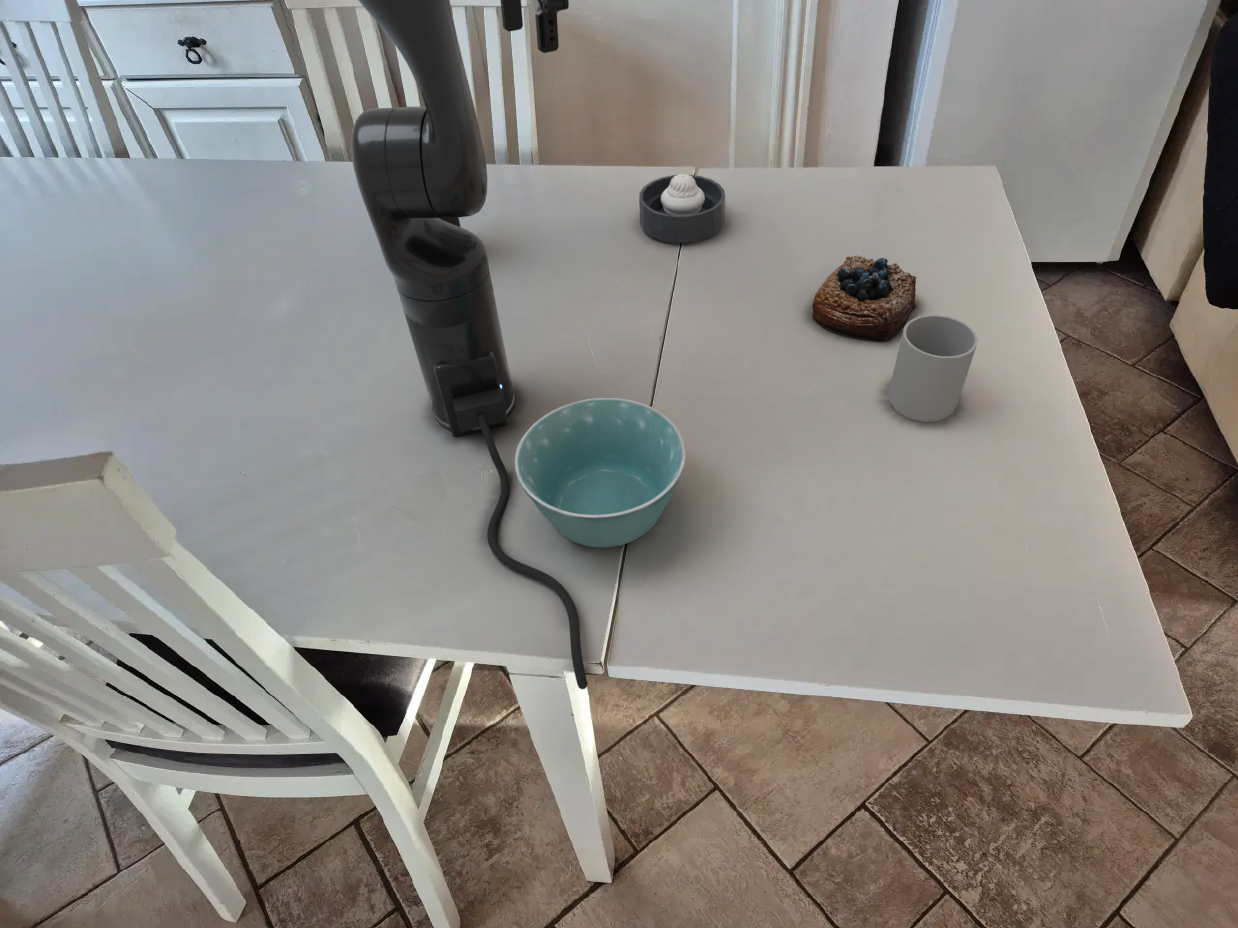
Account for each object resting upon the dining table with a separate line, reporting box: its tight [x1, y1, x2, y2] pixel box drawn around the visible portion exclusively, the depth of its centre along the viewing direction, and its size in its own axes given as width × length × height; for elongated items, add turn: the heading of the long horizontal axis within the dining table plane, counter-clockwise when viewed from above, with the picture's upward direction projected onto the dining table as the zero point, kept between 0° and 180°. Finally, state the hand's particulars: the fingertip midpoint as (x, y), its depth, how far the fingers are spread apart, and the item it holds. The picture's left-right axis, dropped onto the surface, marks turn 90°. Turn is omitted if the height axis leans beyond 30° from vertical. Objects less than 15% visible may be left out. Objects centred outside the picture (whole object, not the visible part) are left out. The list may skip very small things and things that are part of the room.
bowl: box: [514, 397, 687, 548], centre depth 77 cm, size 16×16×8 cm
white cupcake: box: [661, 173, 705, 215], centre depth 114 cm, size 6×6×7 cm
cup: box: [887, 314, 979, 423], centre depth 86 cm, size 7×10×9 cm
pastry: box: [811, 255, 918, 343], centre depth 99 cm, size 11×12×6 cm
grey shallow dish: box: [638, 174, 726, 244], centre depth 116 cm, size 12×12×4 cm
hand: (530, 40), depth 91 cm, fingers open, 8 cm apart
